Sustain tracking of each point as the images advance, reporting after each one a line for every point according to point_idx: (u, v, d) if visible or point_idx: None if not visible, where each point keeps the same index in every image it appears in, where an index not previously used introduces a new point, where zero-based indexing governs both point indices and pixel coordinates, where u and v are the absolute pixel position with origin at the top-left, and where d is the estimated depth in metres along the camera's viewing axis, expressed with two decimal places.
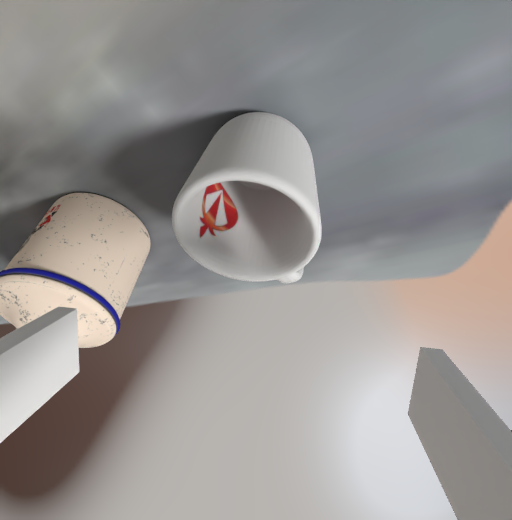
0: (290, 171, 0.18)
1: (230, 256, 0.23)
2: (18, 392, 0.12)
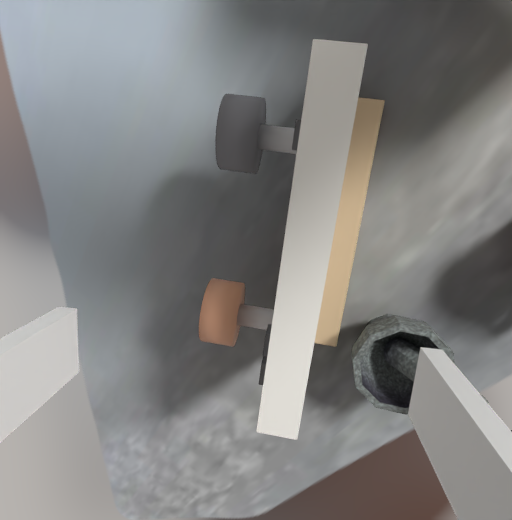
0: None
1: None
2: (18, 392, 0.12)
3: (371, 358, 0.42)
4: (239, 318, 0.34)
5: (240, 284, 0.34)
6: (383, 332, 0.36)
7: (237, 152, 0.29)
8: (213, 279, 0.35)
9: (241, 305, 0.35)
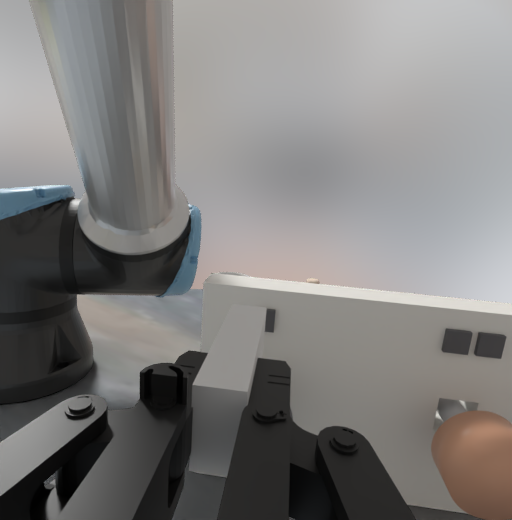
0: None
1: None
2: None
3: None
4: None
5: (433, 443, 0.27)
6: None
7: None
8: (446, 473, 0.24)
9: None
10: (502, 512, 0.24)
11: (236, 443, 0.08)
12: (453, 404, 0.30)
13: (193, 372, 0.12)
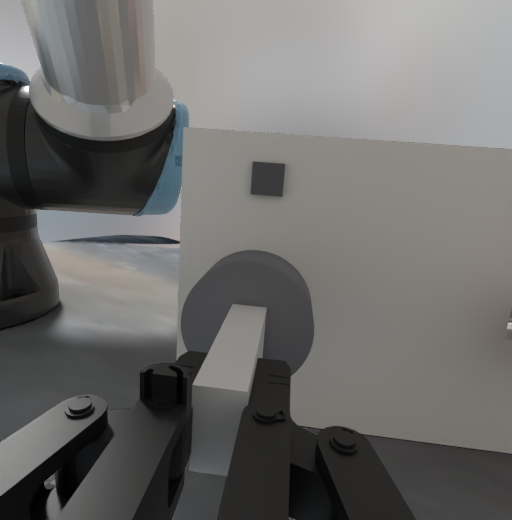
0: None
1: None
2: None
3: None
4: None
5: None
6: None
7: (286, 266, 0.18)
8: None
9: None
10: None
11: (236, 443, 0.08)
12: None
13: (193, 372, 0.12)
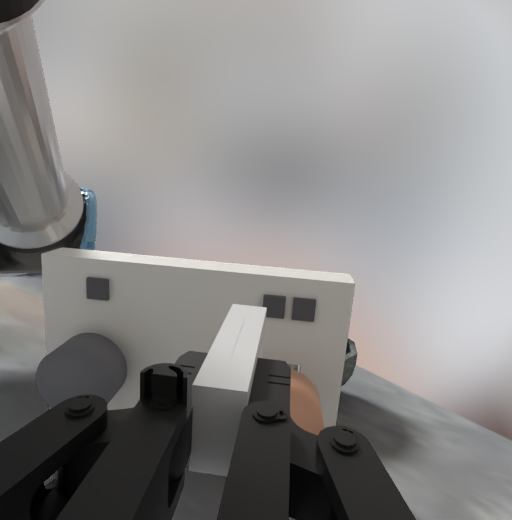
0: None
1: None
2: None
3: None
4: None
5: None
6: None
7: (102, 345, 0.30)
8: None
9: None
10: None
11: (236, 443, 0.08)
12: None
13: (193, 372, 0.12)
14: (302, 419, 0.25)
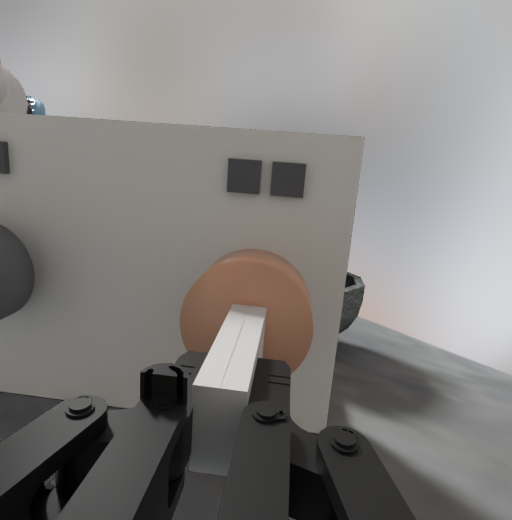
0: None
1: None
2: None
3: None
4: None
5: None
6: None
7: None
8: None
9: None
10: None
11: (236, 443, 0.08)
12: None
13: (193, 372, 0.12)
14: (280, 311, 0.16)
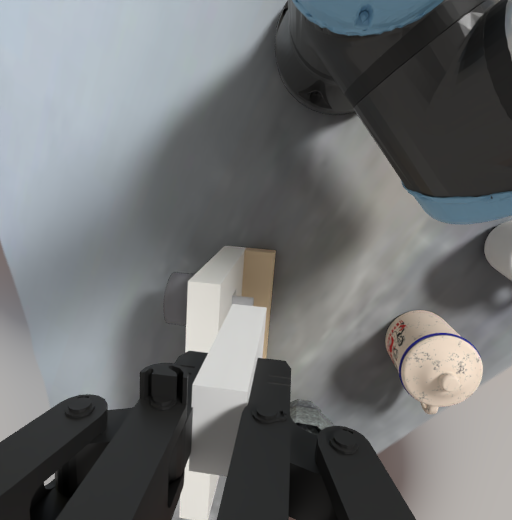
0: None
1: None
2: None
3: None
4: None
5: None
6: None
7: (179, 319, 0.42)
8: None
9: None
10: None
11: (236, 443, 0.08)
12: None
13: (193, 372, 0.12)
14: None
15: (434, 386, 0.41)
